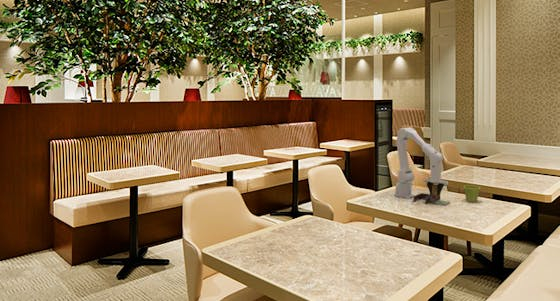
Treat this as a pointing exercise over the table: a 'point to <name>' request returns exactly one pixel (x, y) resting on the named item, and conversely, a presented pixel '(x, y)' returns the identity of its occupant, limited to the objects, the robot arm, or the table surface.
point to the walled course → (425, 196)
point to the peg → (434, 192)
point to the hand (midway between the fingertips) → (435, 195)
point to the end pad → (441, 202)
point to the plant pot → (471, 193)
